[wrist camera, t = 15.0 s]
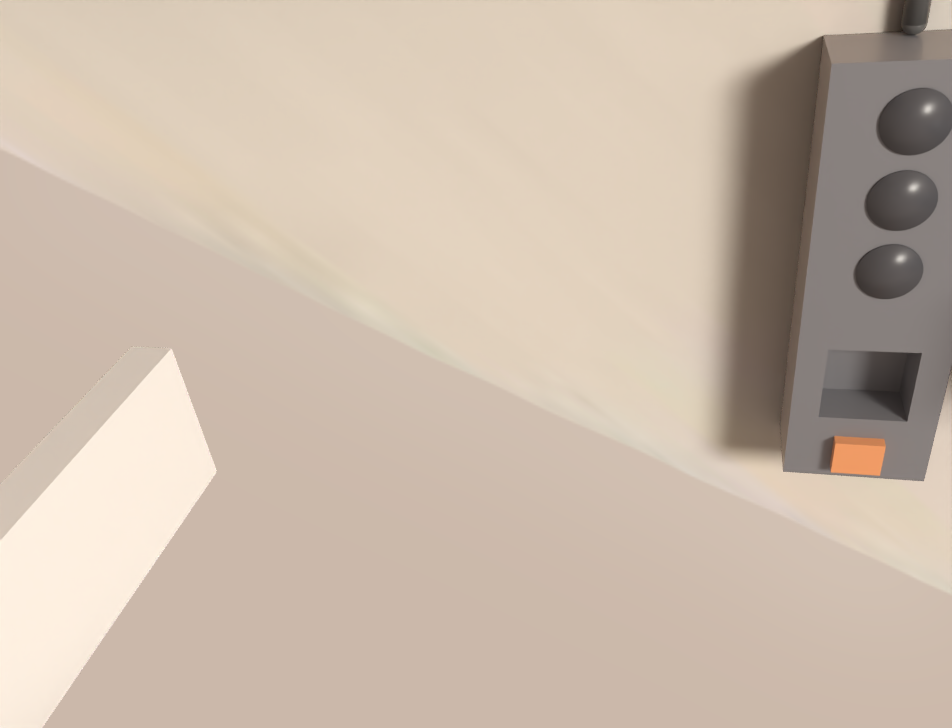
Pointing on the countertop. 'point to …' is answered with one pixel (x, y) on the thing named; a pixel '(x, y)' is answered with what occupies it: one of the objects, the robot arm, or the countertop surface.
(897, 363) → the power strip
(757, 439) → the countertop surface
